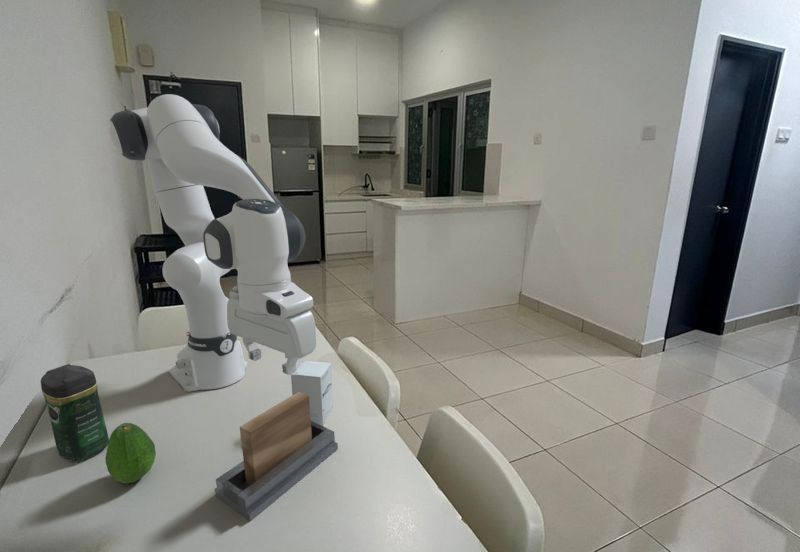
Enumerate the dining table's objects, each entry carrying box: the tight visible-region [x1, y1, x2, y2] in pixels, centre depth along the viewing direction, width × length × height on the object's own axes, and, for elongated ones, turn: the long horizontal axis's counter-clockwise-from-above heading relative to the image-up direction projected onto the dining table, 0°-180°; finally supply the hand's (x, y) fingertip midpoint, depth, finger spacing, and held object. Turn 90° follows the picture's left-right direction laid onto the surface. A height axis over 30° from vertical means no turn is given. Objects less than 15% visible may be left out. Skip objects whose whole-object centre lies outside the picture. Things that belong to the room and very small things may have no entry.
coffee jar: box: [40, 363, 110, 463], centre depth 86 cm, size 10×8×19 cm
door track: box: [214, 421, 339, 522], centre depth 81 cm, size 10×22×4 cm, turn 146°
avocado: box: [104, 422, 157, 484], centre depth 78 cm, size 8×8×12 cm
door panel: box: [239, 392, 312, 485], centre depth 80 cm, size 3×14×12 cm, turn 146°
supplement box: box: [290, 360, 334, 426], centre depth 98 cm, size 7×7×13 cm
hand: (271, 365), depth 76 cm, fingers open, 8 cm apart
